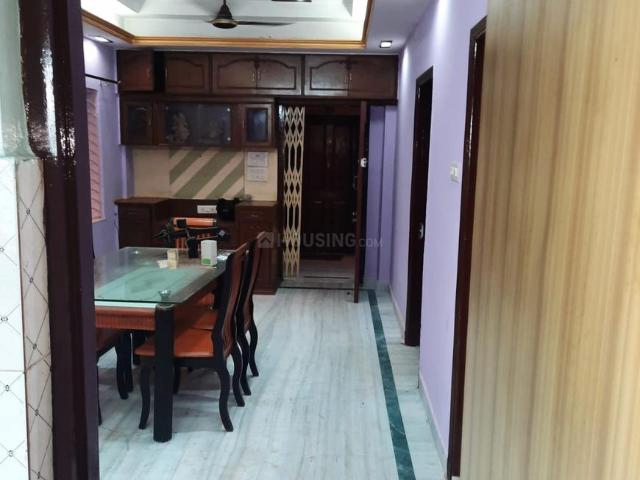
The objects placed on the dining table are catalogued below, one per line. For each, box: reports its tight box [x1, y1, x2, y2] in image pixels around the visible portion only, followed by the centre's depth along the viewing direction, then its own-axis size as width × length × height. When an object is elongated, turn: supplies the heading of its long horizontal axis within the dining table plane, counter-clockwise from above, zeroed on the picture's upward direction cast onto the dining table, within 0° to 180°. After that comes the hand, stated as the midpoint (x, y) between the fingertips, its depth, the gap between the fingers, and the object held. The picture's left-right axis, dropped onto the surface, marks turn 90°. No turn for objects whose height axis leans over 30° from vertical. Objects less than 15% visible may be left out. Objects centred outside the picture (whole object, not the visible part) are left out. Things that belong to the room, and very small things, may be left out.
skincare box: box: [200, 240, 218, 266], centre depth 360 cm, size 8×7×16 cm
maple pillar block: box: [166, 248, 180, 270], centre depth 352 cm, size 5×5×12 cm
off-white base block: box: [156, 259, 168, 269], centre depth 360 cm, size 10×10×3 cm
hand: (155, 238), depth 371 cm, fingers open, 9 cm apart
